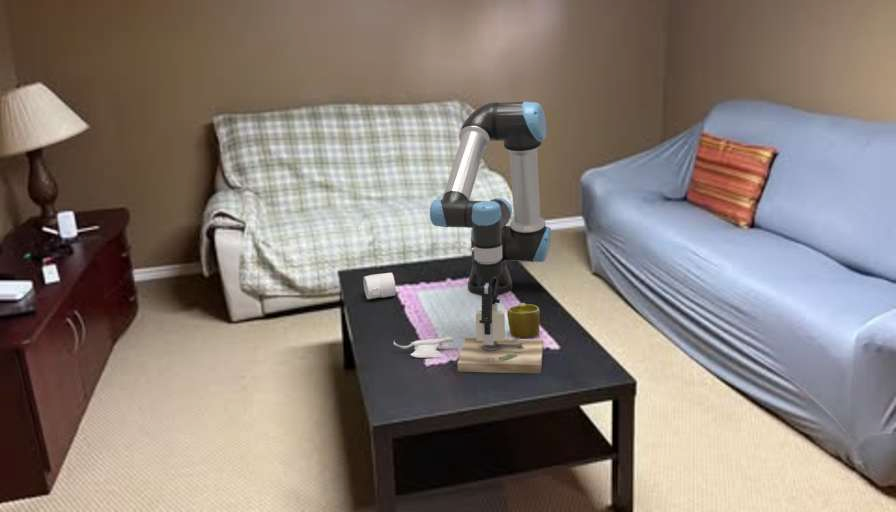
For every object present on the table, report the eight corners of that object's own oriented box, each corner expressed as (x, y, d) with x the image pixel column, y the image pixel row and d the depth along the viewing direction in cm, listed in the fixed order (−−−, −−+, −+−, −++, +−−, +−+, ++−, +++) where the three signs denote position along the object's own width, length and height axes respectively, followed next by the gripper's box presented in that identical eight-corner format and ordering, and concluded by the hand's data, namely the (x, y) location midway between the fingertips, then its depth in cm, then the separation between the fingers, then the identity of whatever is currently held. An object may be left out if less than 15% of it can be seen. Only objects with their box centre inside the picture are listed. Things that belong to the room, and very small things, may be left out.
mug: (544, 336, 219) (533, 303, 219) (510, 345, 222) (499, 312, 222) (550, 327, 231) (540, 296, 231) (517, 336, 234) (508, 304, 234)
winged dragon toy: (391, 362, 214) (390, 348, 212) (391, 346, 223) (390, 333, 222) (455, 357, 214) (455, 343, 213) (453, 342, 224) (452, 329, 223)
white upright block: (478, 343, 216) (477, 308, 212) (522, 344, 214) (521, 309, 210) (476, 351, 211) (475, 315, 208) (521, 352, 209) (520, 316, 206)
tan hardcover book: (465, 346, 220) (465, 337, 220) (543, 347, 217) (543, 338, 216) (457, 371, 205) (457, 361, 205) (540, 373, 202) (540, 363, 201)
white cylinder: (396, 299, 258) (395, 277, 256) (369, 303, 256) (367, 281, 254) (389, 288, 269) (388, 266, 267) (363, 291, 267) (361, 270, 265)
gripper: (479, 246, 217) (482, 317, 223) (468, 275, 194) (471, 353, 201) (506, 246, 215) (508, 318, 222) (497, 275, 193) (500, 354, 200)
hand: (490, 334), depth 211 cm, fingers open, 12 cm apart
